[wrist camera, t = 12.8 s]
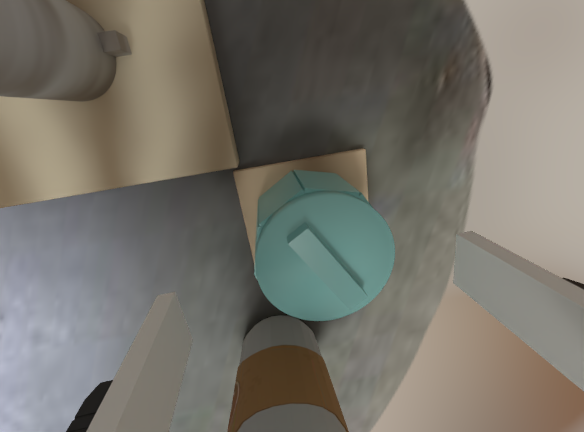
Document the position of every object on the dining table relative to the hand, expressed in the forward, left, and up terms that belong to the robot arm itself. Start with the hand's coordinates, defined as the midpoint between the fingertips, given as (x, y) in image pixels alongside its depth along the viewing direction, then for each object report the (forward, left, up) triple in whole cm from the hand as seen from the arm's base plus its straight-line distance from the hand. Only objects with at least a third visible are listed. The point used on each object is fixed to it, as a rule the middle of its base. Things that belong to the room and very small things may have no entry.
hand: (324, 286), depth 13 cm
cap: (0, 0, -8) cm, 8 cm away
